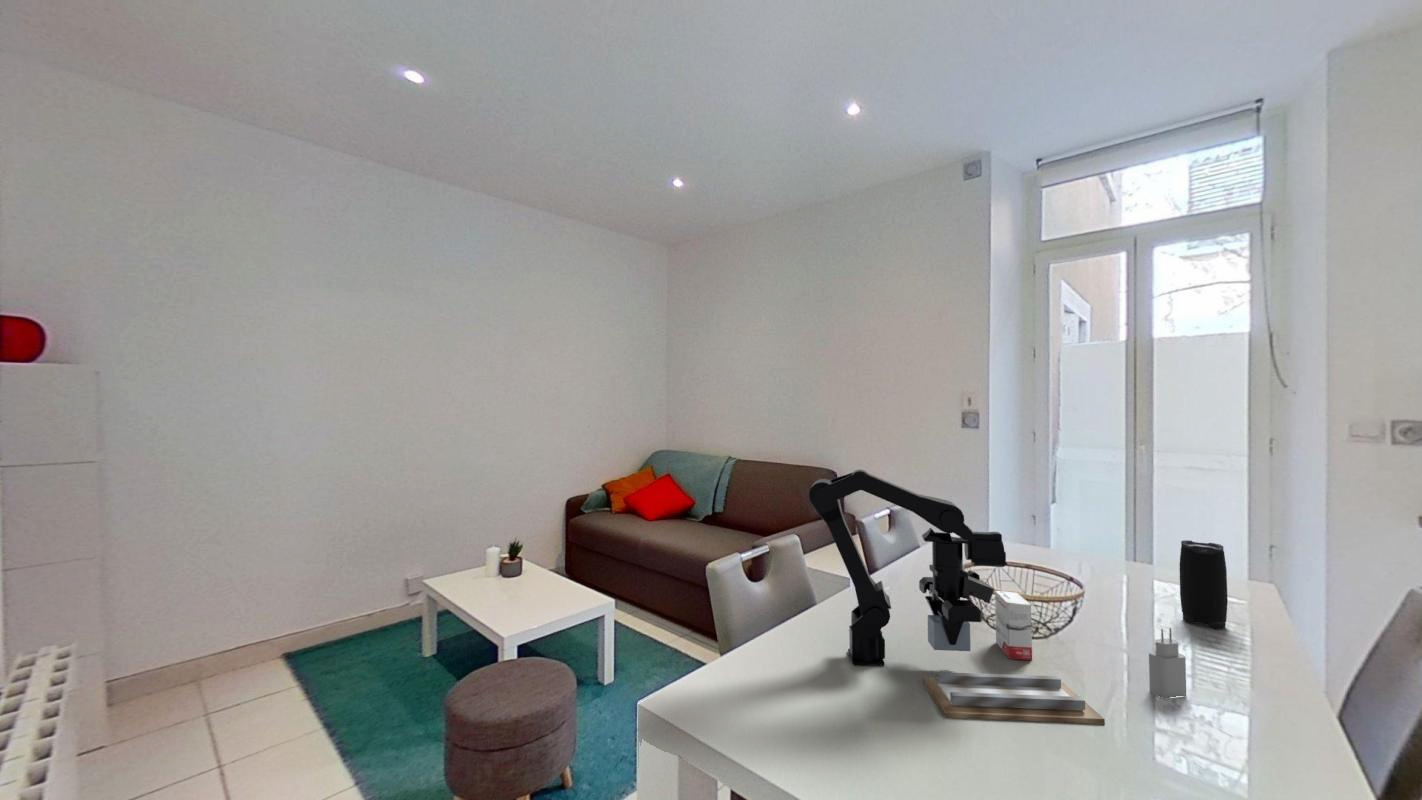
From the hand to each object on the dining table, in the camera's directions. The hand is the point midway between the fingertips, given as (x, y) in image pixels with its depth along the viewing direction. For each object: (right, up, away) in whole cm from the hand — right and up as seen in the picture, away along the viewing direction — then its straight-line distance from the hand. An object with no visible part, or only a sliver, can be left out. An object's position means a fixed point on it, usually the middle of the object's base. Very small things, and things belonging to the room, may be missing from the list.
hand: (948, 639), depth 108 cm
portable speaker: (+73, -6, +22) cm, 76 cm away
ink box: (+18, -6, +7) cm, 20 cm away
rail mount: (+5, -5, -13) cm, 15 cm away
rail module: (0, -1, 0) cm, 1 cm away
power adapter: (+36, -6, -10) cm, 38 cm away
